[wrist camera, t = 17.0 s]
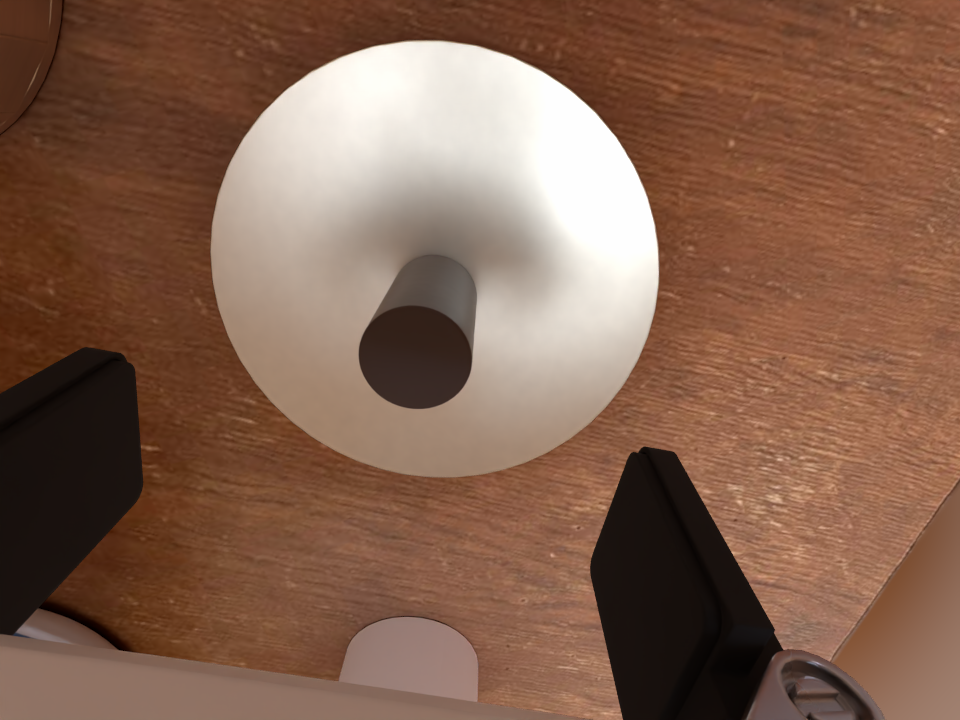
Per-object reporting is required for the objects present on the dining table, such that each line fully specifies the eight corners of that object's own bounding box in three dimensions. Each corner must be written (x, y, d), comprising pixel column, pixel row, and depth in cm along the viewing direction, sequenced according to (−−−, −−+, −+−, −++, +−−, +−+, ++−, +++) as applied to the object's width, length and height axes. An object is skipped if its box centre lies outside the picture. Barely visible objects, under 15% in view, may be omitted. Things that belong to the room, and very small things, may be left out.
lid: (224, -8, 16) (68, -80, 10) (716, 102, 17) (837, 95, 11) (225, 426, 23) (129, 539, 17) (584, 488, 24) (616, 615, 18)
